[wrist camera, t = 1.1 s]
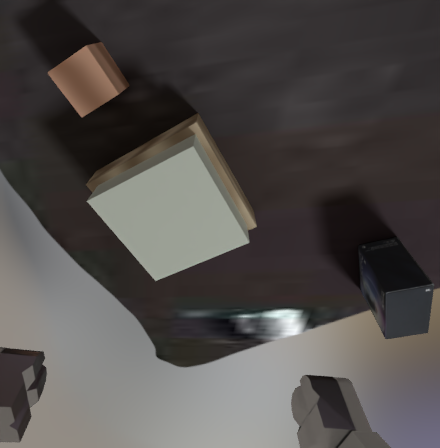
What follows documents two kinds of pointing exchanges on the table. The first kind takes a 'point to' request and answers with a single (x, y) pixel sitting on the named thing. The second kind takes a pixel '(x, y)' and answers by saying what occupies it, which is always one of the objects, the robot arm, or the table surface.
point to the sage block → (171, 210)
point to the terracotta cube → (89, 78)
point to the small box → (395, 288)
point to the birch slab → (170, 139)
